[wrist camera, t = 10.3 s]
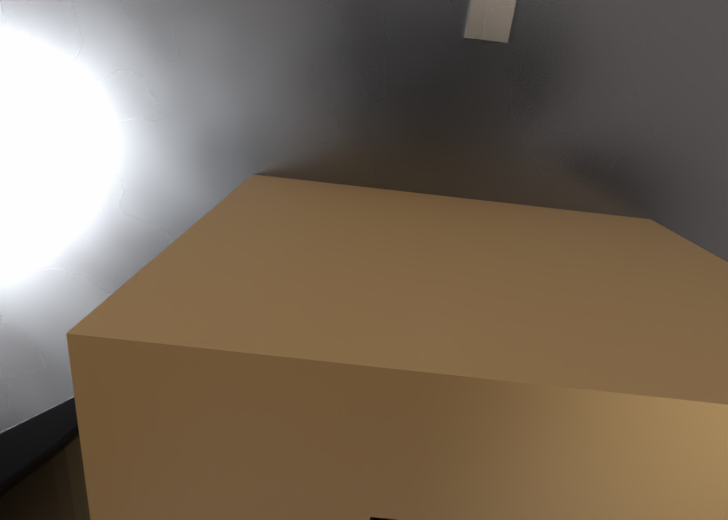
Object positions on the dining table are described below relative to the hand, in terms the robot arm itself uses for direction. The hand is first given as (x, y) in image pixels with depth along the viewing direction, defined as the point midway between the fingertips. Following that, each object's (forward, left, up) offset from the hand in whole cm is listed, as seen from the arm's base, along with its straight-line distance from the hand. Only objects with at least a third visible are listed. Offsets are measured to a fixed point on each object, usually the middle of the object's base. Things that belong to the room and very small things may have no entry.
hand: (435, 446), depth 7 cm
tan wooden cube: (0, 0, -2) cm, 2 cm away
